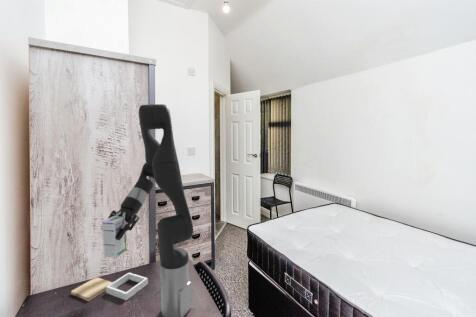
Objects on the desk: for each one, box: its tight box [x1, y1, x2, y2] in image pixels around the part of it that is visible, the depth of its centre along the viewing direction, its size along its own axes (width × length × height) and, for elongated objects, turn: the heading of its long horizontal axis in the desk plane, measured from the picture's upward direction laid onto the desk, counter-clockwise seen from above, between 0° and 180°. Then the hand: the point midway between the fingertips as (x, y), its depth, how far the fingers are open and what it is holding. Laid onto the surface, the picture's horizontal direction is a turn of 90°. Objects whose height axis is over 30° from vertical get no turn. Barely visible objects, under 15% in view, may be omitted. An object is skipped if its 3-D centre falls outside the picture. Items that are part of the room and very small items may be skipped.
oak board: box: [70, 276, 114, 302], centre depth 89 cm, size 10×10×1 cm
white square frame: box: [105, 272, 149, 301], centre depth 90 cm, size 11×11×2 cm
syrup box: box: [101, 216, 128, 259], centre depth 89 cm, size 6×6×14 cm
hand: (110, 237), depth 87 cm, fingers closed on syrup box, 6 cm apart
